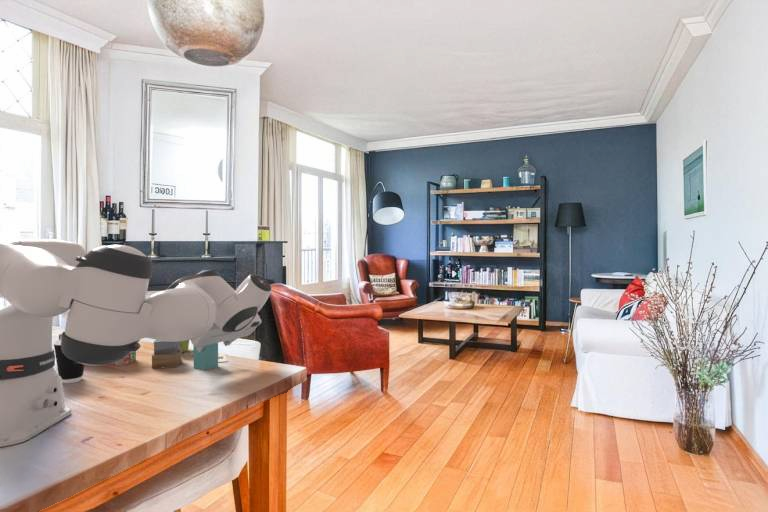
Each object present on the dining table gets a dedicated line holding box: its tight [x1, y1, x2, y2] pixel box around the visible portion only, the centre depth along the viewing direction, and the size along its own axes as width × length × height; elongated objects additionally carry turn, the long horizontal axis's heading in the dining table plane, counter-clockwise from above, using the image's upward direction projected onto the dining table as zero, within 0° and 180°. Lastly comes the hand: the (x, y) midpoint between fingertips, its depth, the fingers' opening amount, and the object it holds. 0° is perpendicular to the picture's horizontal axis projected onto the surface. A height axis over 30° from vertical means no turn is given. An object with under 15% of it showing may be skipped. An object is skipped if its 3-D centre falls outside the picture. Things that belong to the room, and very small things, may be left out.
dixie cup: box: [52, 339, 85, 384], centre depth 124 cm, size 8×8×11 cm
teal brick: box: [192, 343, 219, 371], centre depth 137 cm, size 5×5×8 cm
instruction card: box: [218, 353, 228, 364], centre depth 147 cm, size 10×8×1 cm
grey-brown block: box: [151, 339, 183, 369], centre depth 139 cm, size 7×7×8 cm
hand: (213, 346), depth 136 cm, fingers open, 8 cm apart
